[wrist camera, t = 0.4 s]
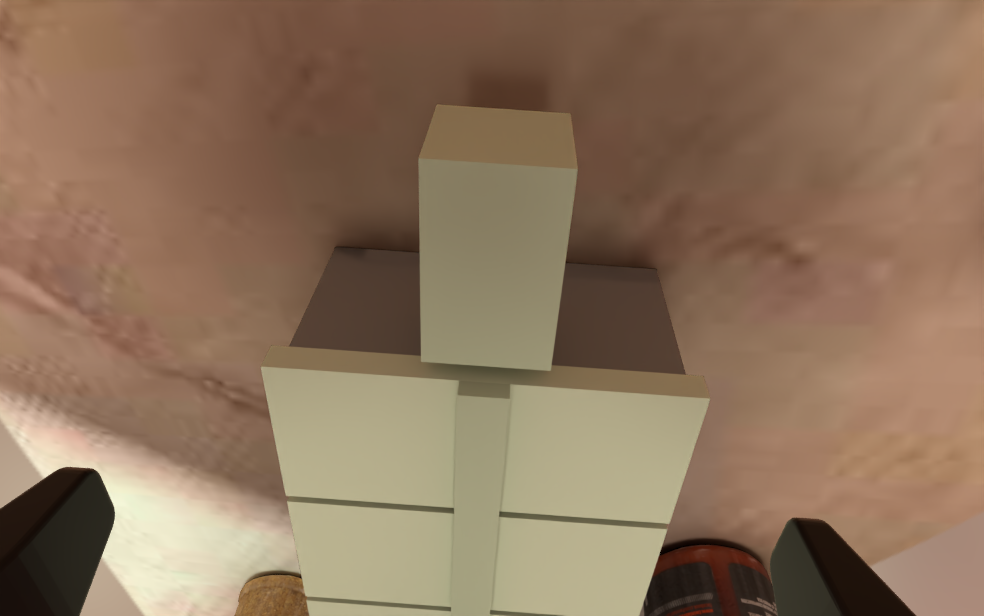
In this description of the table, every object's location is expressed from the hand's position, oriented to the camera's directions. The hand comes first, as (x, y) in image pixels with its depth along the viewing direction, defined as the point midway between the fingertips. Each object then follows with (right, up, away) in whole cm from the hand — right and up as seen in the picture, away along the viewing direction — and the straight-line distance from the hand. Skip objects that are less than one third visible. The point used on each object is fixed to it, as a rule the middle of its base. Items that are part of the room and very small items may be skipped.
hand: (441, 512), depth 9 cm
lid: (0, -1, +12) cm, 12 cm away
